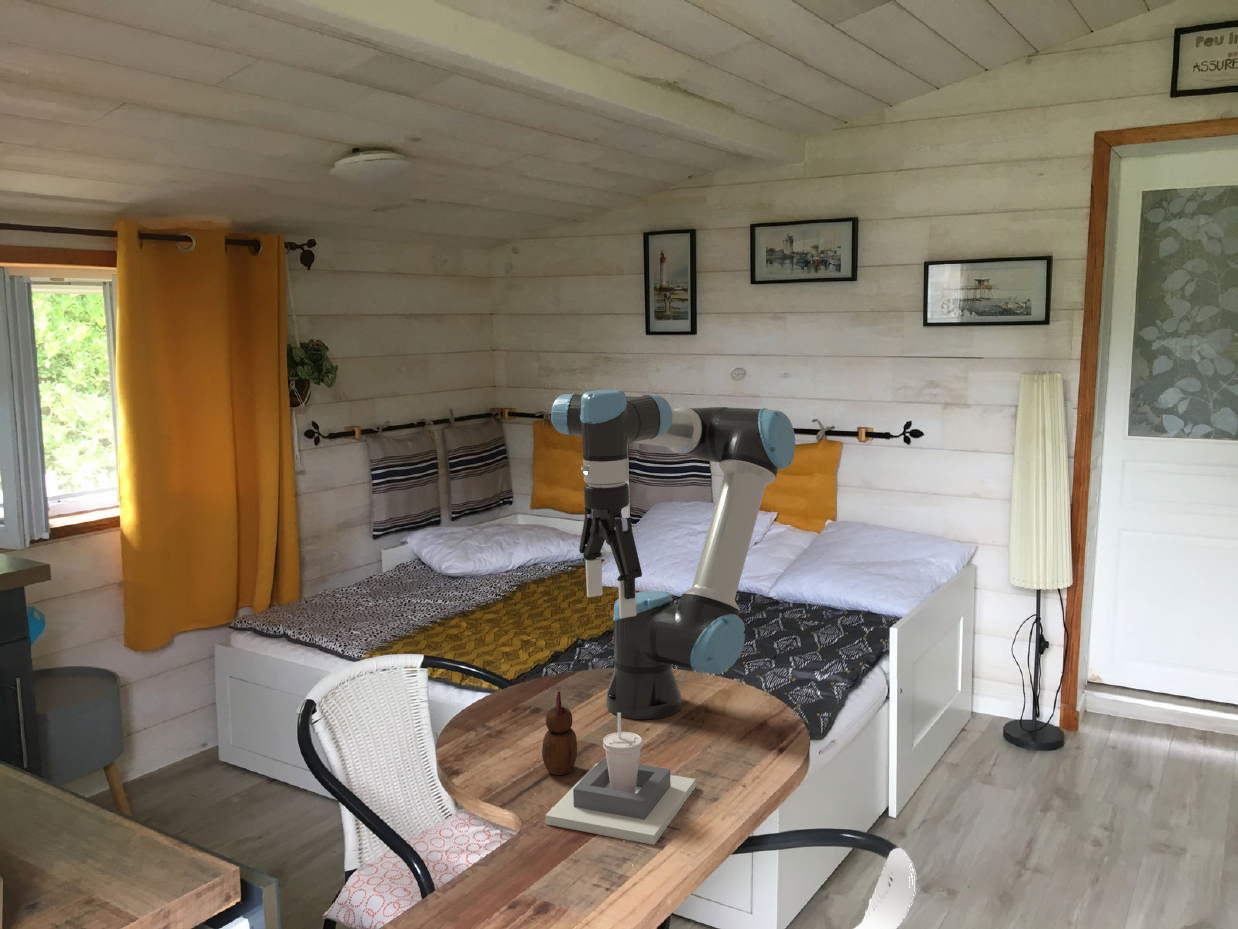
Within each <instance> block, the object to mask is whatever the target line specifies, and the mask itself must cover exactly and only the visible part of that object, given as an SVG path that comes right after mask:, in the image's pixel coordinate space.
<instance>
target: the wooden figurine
mask: <svg viewBox="0 0 1238 929" xmlns="http://www.w3.org/2000/svg"><path fill="white" fill-rule="evenodd" d="M561 698H562V697H561V691H557V695H556V699H555V700H556V701H555V707H551V708H549V709H548V710H547V713H546V715H545V726H546V728H547V731H546V732H545V734H544V737H543V740H542V748H541V756H542V760H543V764H544V766H545V769H546V770H547V772H548V773H550V774H551V775H555V776H565V775H567V774H569V773H570V772H572V770H573V769H574V767H575V764H576V760H577V757H578V739H577V734H576V733H575V730H574V729H573V728H572V726H573V714H572V712H571V710H570V709H569V708H568V707H565V706H562V699H561Z"/></svg>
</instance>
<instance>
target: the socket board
mask: <svg viewBox="0 0 1238 929" xmlns="http://www.w3.org/2000/svg"><path fill="white" fill-rule="evenodd" d="M696 786H697V785H696V778H691V777H685V776H680V775H675V774H674V775H672V774H671V769H670V768H666V767H659V766H653V765H646V764H639V765H638V774H637V782H636V791H635V793H631V792H625V791H619V790H613V789H611V786H610V779H609V772H608V765H607V758H604V757H603V758H601V760H600V761H599V762H596V763H595V764H594V765H593V766H592V767H591V768H590V769H589V770H588V771H587V772H586V773H585V774H584V775H583V776H582V777H581V778H580V779H579V780H578V781H577V782H576V783H575V784H574V785H573V786H572V788H570V789H569V791H567V792H566V793H565V795H564V796H563V797H562V798H561V799H559V801H558V802H557V803H556V804H555V805H553V807H552V808H550V810H549V811H548V812H546V814H545V825H548V826H553V827H559V828H563V829H569V830H573V831H574V830H575V831H579V832H585V833H589V834H597V835H601V836H606V837H610V838H616V839H623V840H626V841H632V842H637V843H642V844H648V845H653V846H655V844H656V843H657V842H658V841H659V839H660V837H661V836H662V835H663V833H664V832H665V831H666V829H667V827H668V826H669V825H670V823H671V822H672V821H673V819H674V818H675V817H676V815H677V814H678V812H679V811H680V810H681V808H682V807H683V806H682V805H684V804H685V803H686V802H687V800H688V799H689V797H690V796H691V794H692V793H693V792H694V790H695V789H696V788H695V787H696ZM692 791H693V792H692ZM689 795H690V796H689ZM687 798H688V799H687ZM684 802H685V803H684Z"/></svg>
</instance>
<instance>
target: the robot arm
mask: <svg viewBox="0 0 1238 929" xmlns="http://www.w3.org/2000/svg"><path fill="white" fill-rule="evenodd" d="M550 418H551V424H552V425H553V426H552V427H553V428H554V429H555V430H556V431H557V432H558V433H560V434H561V435H569V436H570V437H572V436H573V437H574V436H577V437H581V442H582V463H583V464H582V465H583V466H581V467H580V469H581V470H580V471H581V472H583V481H584V483H586V484H585V485H584V487H583V496H584V498H583V499H584V502H583V503H584V520H583V524H582V525H583V527H582V531H581V538H580V543H579V549H578V550H579V553H580V554H581V555H582V554H583V559H584V561H585V579H586V580H585V582H586V597H587V598H593V597H599V596H603V595H604V594H603V593H604V592H603V570H602V569H603V568H602V567H603V566H602V559H601V557H603V555H602V548H603V546H604V544H605V543H606V544H607V545H608V546H610V549H611V552H612V555H613V558H614V561H615V564H616V567H617V570H618V573H619V575H618V576H617V579H616V580H617V583H618V584H617V587H618V598H617V600H615V602H614V605H613V618H612V621H613V622H612V623H613V626H612V627H613V653H614V654H613V655H614V657H613V658H614V669H613V673H612V676H611V680H610V683H609V686H608V690H607V692H606V708H607V710H608V711H609V712H610V713H612V714H614V715H616V716H618V715H617V713H621V718H625V719H633V720H654V719H655V720H656V719H660V718H665V717H669V716H671V715H674V714H675V713H677V712H678V711H680V709H681V707H682V694H681V690H680V688H679V684H678V682H677V678H676V676H675V672H674V670H673V666H677V667H680V668H685V669H689V670H693V671H695V672H697V673H707V674H712V675H713V674H714V675H718V674H722V673H725V672H726V671H728V670H729V669H730V668H732V666H734V665H735V664H736V662H737V660H738V658H739V657H740V655H741V653H742V650H743V648H744V643H745V639H746V634H745V631H746V627H745V623H744V621H743V620H742V618H740V617H739V614H740V610H741V609H740V608H739V605H738V604H737V602H736V595H737V592H738V588H739V586H740V581H741V577H742V575H743V570H744V567H745V562H746V560H747V556H748V552H749V548H750V544H751V540H752V537H753V533H754V529H755V527H756V522H757V519H758V516H759V512H760V509H761V504H762V500H763V497H764V493H765V489H766V487H767V486H769V485H770V484H772V483H773V482H775V481H776V478H777V474H778V472H779V470H784V469H787V468H788V467H789V466H790V465H791V464H792V463H793V461H794V459H795V458H794V457H795V453H796V435H795V434H796V433H795V431H794V427H793V423H792V422H791V420H790V418H789V416H787V414H785V412H783V411H780V410H777V409H768V408H765V407H764V408H763V407H762V408H751V407H750V408H745V407H743V408H742V407H727V406H713V407H712V406H710V407H687V406H680V407H676V408H674V409H672V407H671V405H670V403H669V402H668V401H667V399H665V398H664V397H663V396H661V395H658V394H643V395H640V396H628V395H627V396H626V394H625V392H624V390H620V389H619V390H618V389H599V390H588V391H586V392H584V393H583V394H580V393H579V394H578V393H575V392H574V393H565V394H564V393H563V394H561V395H559V396H557V398H556V399H555V400H554V402H553V404H552V406H551V414H550ZM631 443H635V444H642V445H650V446H657V447H665V448H668V449H669V450H670V451H671V452H673V453H675V454H680V455H686V456H690V457H693V458H698V459H701V460H704V461H709V462H714V463H718V464H719V465H718V466H719V468H720V470H721V472H722V474H723V478H722V481H721V485H720V487H719V488H720V489H719V492H718V495H717V499H716V503H715V505H714V510H713V513H712V516H711V520H710V523H709V527H708V530H707V534H706V537H705V540H704V545H703V548H702V552H701V555H700V558H699V561H698V562H699V563H698V564H697V569H696V572H695V575H694V579H693V581H692V582H693V583H692V586H691V587H690V588H688V589H687V590H685V591H683V592H682V593H681V596H680V600H679V603H678V604H677V603H673V602H672V601H673V597H672V594H671V593H670V592H668V591H666V590H665V591H664V590H647V591H638V592H636V579H638V578H642V577H643V572H642V568H641V563H640V559H639V555H638V550H637V546H636V541H635V538H634V533H633V524H632V518H631V517H630V516H629V517H623V514H622V509H624V508H627V507H628V506H629V504H630V486H629V484H628V483H626V482H628V481H629V478H630V477H629V476H630V475H629V455H628V444H631Z"/></svg>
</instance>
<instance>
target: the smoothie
mask: <svg viewBox="0 0 1238 929" xmlns="http://www.w3.org/2000/svg"><path fill="white" fill-rule="evenodd" d="M616 716H617V732H612V733H609V734H607V735H605V736H604V737H603V738H602V747H603V749H604V750H605V759H607V765H608V772H609V779H610V786H611V789H613V790H619V791H625V792H631V793H635V791H636V782H637V774H638V765H639V763H640V756H641V749H642V748H643V744H644V743H643V738H642V737H641V736H640V735H639V734H637V733H634V732H632V731H631V732H630V731H622V717H621V713H617V715H616Z"/></svg>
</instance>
